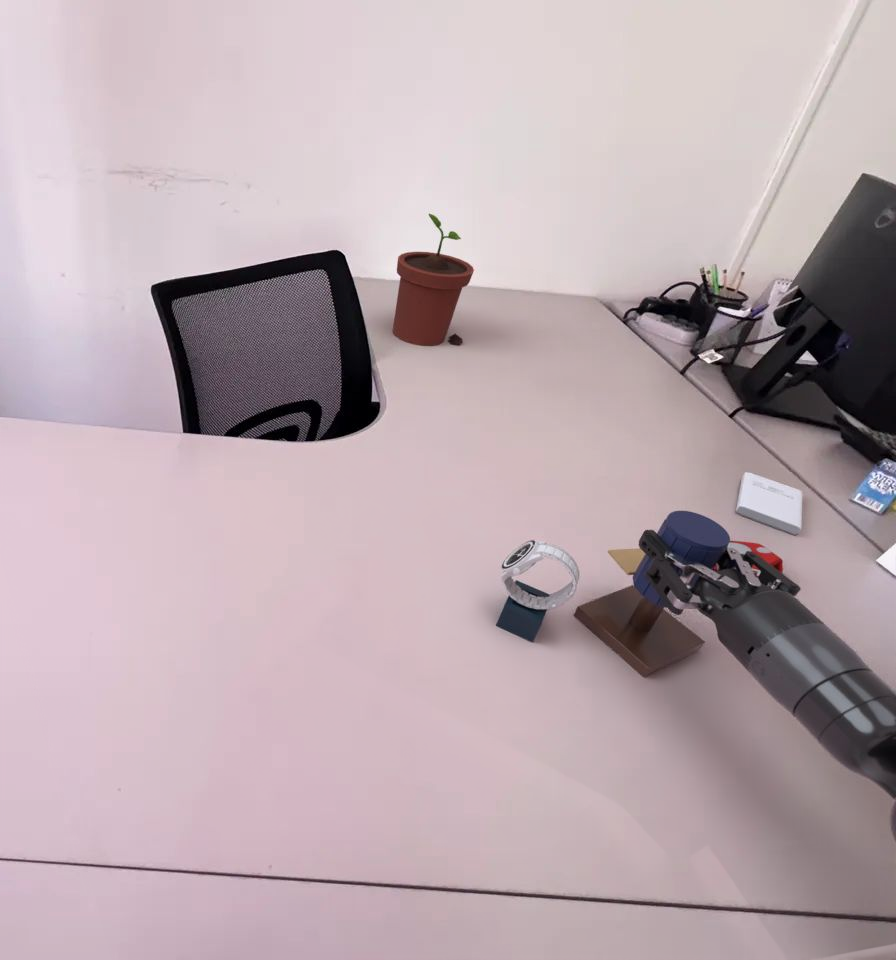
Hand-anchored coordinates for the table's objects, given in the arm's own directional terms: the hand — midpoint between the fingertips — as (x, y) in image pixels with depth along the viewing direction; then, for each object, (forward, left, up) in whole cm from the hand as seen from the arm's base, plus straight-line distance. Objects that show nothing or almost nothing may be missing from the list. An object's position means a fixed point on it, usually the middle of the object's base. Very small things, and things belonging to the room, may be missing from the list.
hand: (670, 535), depth 74 cm
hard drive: (-43, -8, -13) cm, 46 cm away
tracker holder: (-21, 0, -13) cm, 25 cm away
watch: (+13, -5, -13) cm, 19 cm away
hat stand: (+1, +2, -13) cm, 13 cm away
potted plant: (-32, -80, -13) cm, 87 cm away
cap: (0, +1, -6) cm, 6 cm away
